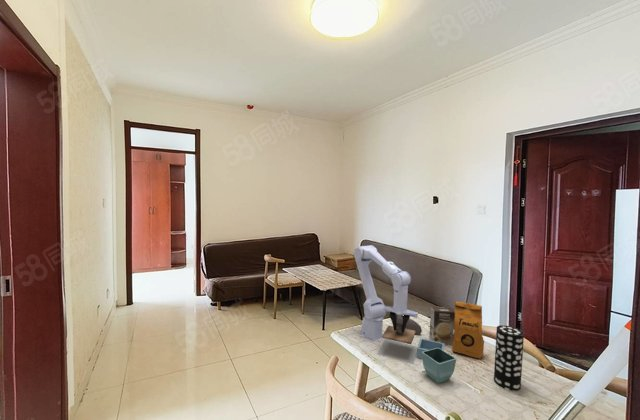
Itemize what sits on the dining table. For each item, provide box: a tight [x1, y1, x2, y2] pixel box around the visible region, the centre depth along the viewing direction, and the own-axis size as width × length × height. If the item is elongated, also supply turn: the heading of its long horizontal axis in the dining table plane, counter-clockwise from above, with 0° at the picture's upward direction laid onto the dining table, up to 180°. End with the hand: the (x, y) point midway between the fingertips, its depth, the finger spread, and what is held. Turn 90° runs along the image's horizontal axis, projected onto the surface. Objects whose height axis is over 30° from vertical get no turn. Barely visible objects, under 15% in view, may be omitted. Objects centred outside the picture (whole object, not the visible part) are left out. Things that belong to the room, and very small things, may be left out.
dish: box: [416, 337, 446, 360], centre depth 124 cm, size 10×10×4 cm
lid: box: [382, 323, 416, 345], centre depth 127 cm, size 12×12×5 cm
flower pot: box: [421, 348, 457, 384], centre depth 109 cm, size 9×9×9 cm
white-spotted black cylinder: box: [493, 324, 525, 392], centre depth 107 cm, size 8×8×20 cm
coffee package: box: [451, 301, 485, 360], centre depth 128 cm, size 10×12×22 cm
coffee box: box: [428, 305, 455, 347], centre depth 136 cm, size 9×6×16 cm
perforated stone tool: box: [396, 314, 423, 335], centre depth 147 cm, size 15×5×7 cm, turn 43°
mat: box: [376, 338, 418, 365], centre depth 128 cm, size 15×15×1 cm
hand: (399, 330), depth 127 cm, fingers closed on lid, 3 cm apart
